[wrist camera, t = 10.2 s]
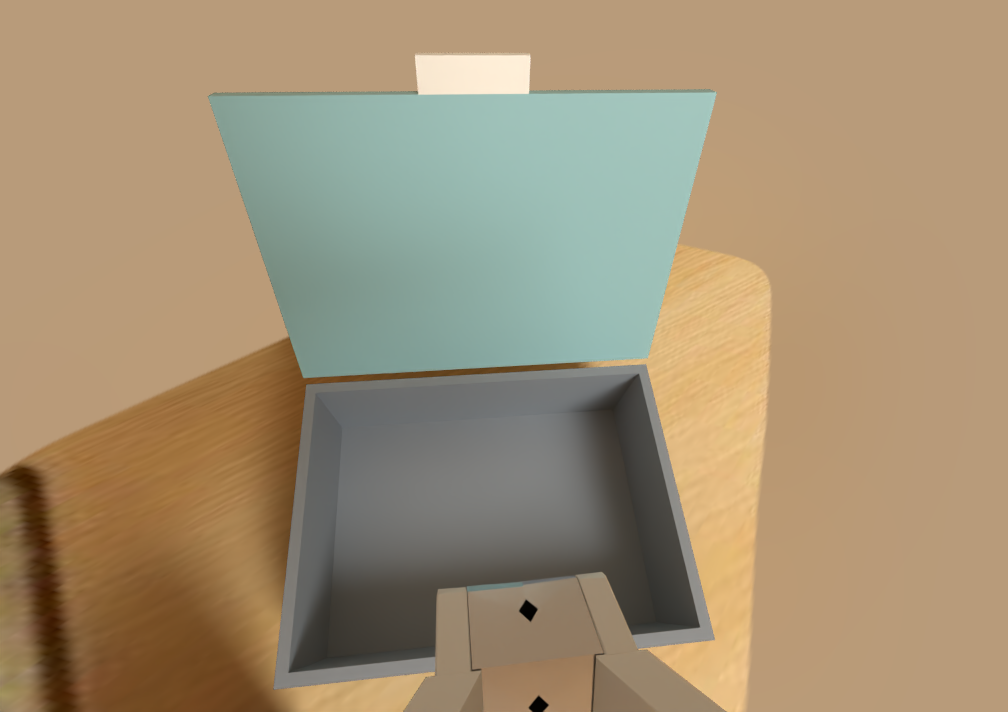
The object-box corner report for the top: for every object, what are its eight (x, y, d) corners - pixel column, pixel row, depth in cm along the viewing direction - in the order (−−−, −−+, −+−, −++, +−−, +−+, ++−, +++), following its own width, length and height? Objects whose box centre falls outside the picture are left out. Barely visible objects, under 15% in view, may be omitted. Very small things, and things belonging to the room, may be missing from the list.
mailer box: (318, 669, 24) (273, 689, 19) (336, 423, 30) (306, 384, 24) (664, 631, 25) (715, 640, 20) (616, 404, 31) (645, 364, 26)
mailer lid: (193, 55, 16) (201, 53, 16) (303, 378, 25) (305, 370, 25) (726, 55, 17) (719, 52, 18) (647, 358, 26) (644, 351, 27)
